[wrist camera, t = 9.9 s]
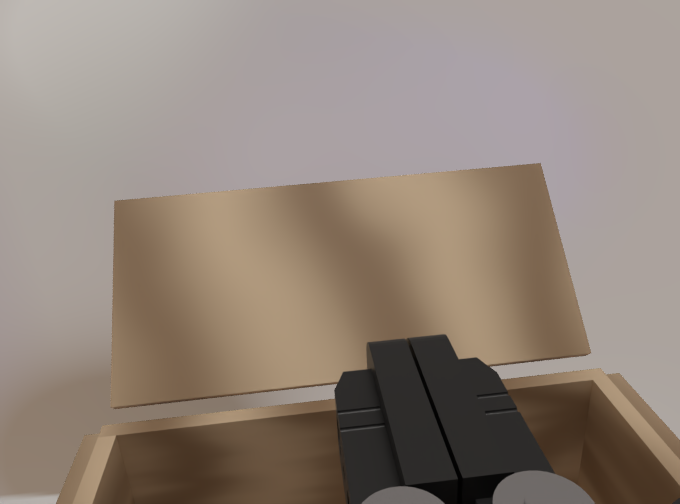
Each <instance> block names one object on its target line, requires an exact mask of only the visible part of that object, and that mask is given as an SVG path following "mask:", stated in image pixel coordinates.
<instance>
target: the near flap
mask: <svg viewBox="0 0 680 504" xmlns="http://www.w3.org/2000/svg"><path fill="white" fill-rule="evenodd" d="M114 209H115V210H114V259H113V311H112V362H111V363H112V364H111V366H112V367H111V408H114V409H120V408H129V407H137V406H146V405H155V404H163V403H172V402H181V401H190V400H199V399H207V398H217V397H225V396H234V395H243V394H252V393H260V392H269V391H278V390H287V389H296V388H305V387H314V386H323V385H331V384H338V382H339V380H340V377H341V375H342V373H343V372H345V371H355V370H364V369H367V355H366V345H367V342H374V341H384V340H393V339H403V338H405V339H407V338H411V337H421V336H430V335H440V334H446V335H447V337H448V339H449V341H450V343H451V345H452V347H453V349H454V351H455V353H456V355H457V357H458V359H465V358H474V357H477V358H478V359H480V360H481V361H482V362H484V363H485V364H486V365H488V366H489V367H490V366H499V365H507V364H516V363H525V362H534V361H542V360H551V359H560V358H569V357H578V356H586V355H588V354H590V353H591V351H590V347H589V343H588V339H587V336H586V332H585V328H584V324H583V320H582V317H581V313H580V309H579V306H578V302H577V298H576V294H575V291H574V287H573V283H572V279H571V276H570V272H569V268H568V264H567V260H566V257H565V253H564V249H563V245H562V242H561V238H560V234H559V231H558V227H557V223H556V219H555V215H554V212H553V208H552V204H551V200H550V197H549V193H548V189H547V185H546V182H545V178H544V174H543V170H542V167H541V164H540V163H538V164H527V165H516V166H504V167H492V168H482V169H470V170H459V171H447V172H436V173H424V174H414V175H402V176H391V177H380V178H368V179H357V180H346V181H335V182H323V183H312V184H300V185H289V186H277V187H266V188H255V189H243V190H232V191H221V192H209V193H199V194H186V195H175V196H164V197H152V198H141V199H130V200H119V201H115V204H114Z"/></svg>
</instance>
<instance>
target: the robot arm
mask: <svg viewBox="0 0 680 504" xmlns="http://www.w3.org/2000/svg"><path fill="white" fill-rule="evenodd" d="M366 355H367V369H364V370H355V371H345V372H343V373H342V375H341V377H340V380H339V382H338V384H337V386H336V388H335V404H336V418H337V431H338V444H339V456H340V463H341V471H342V477H343V485H344V492H345V500H346V504H595V503H594V501H593V500H592V499H591V497H590V496H589V495H588V494H587V493H586V492H585V491H584V490H583V489H582V488H581V487H579V486H578V485H576V484H575V483H574V482H572V481H570V480H568V479H566V478H564V477H562V476H559V475H557V474H555V472H554V471H553V469H552V467H551V465H550V464H549V462H548V460H547V458H546V457H545V455H544V453H543V451H542V450H541V448H540V446H539V445H538V443H537V441H536V439H535V438H534V436H533V434H532V432H531V431H530V429H529V427H528V426H527V424H526V422H525V420H524V419H523V417H522V415H521V413H520V412H518V411H517V406H516V405H515V403H514V401H513V400H512V398H511V396H510V395H508V391H507V389H506V387H505V386H504V384H503V382H502V380H501V379H500V377H499V375H498V374H497V372H495V371H494V370H493V369H491V368H490V367H489V366H488V365H486V364H485V363H484V362H482V361H481V360H480V359H478V358H477V357H474V358H465V359H458V357H457V355H456V353H455V351H454V349H453V347H452V345H451V343H450V341H449V339H448V337H447V335H446V334H440V335H430V336H421V337H411V338H407V339H405V338H403V339H393V340H384V341H374V342H367V345H366ZM672 504H680V498H678V499H677V500H675V501H674V502H673V503H672Z"/></svg>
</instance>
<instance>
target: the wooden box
mask: <svg viewBox="0 0 680 504" xmlns="http://www.w3.org/2000/svg"><path fill="white" fill-rule="evenodd" d="M502 382H503V384H504V386H505V387H506V389H507V391H508V395H510V396H511V398H512V400H513V401H514V403H515V405H516V406H517V411H518V412H520V413H521V415H522V417H523V419H524V420H525V422H526V424H527V426H528V427H529V429H530V431H531V432H532V434H533V436H534V438H535V439H536V441H537V443H538V445H539V446H540V448H541V450H542V451H543V453H544V455H545V457H546V458H547V460H548V462H549V464H550V465H551V467H552V469H553V471H554V472H555V474H557V475H559V476H562V477H564V478H566V479H568V480H570V481H572V482H574V483H575V484H576V485H578V486H579V487H581V488H582V489H583V490H584V491H585V492H586V493H587V494H588V495H589V496H590V497H591V499H592V500H593V501H594V503H595V504H672V503H673V502H674V501H675V500H677V499H678V498H680V440H679V439H678V438H677V437H676V435H675V434H674V433H673V432H672V431H671V430H670V429H669V428H668V427H667V425H666V424H665V423H664V422H663V421H662V420H661V419H660V418H659V417H658V416H657V414H656V413H655V412H654V411H653V410H652V409H651V408H650V407H649V406H648V404H646V402H645V401H644V400H643V399H642V398H641V397H640V396H639V395H638V393H637V392H636V391H635V390H634V389H633V388H632V387H631V386H630V385H629V384H628V382H627V381H626V380H625V379H624V378H623V377H622V376H621V375H620V374H619V373H616V374H607V375H606V374H605V373H604V372H603V371H602V369H601V368H598V369H589V370H580V371H572V372H563V373H554V374H546V375H537V376H529V377H519V378H511V379H502ZM56 504H346V500H345V492H344V485H343V477H342V471H341V463H340V456H339V444H338V431H337V418H336V404H335V399H329V400H321V401H312V402H304V403H294V404H285V405H277V406H268V407H260V408H251V409H242V410H234V411H225V412H216V413H207V414H199V415H191V416H181V417H173V418H164V419H156V420H147V421H138V422H130V423H121V424H112V425H103V426H102V428H101V431H100V433H99V434H91V435H85V436H84V438H83V440H82V443H81V445H80V447H79V450H78V452H77V454H76V457H75V459H74V462H73V464H72V466H71V469H70V471H69V474H68V476H67V478H66V481H65V483H64V486H63V488H62V490H61V493H60V495H59V498H58V500H57V502H56Z"/></svg>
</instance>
